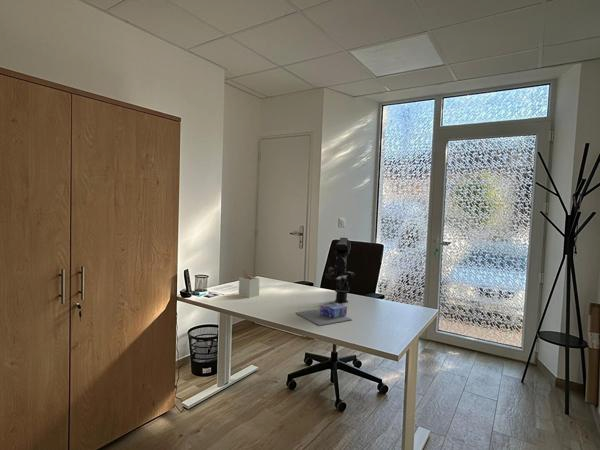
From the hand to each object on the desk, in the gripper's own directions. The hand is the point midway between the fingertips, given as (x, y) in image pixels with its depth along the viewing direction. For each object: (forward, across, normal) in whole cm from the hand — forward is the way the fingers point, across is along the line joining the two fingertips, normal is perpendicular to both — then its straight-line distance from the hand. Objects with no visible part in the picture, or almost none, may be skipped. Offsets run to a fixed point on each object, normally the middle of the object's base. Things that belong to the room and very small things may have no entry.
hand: (340, 289), depth 217 cm
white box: (+13, +36, -54) cm, 66 cm away
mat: (+12, +18, +8) cm, 23 cm away
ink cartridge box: (+9, +5, +8) cm, 13 cm away
